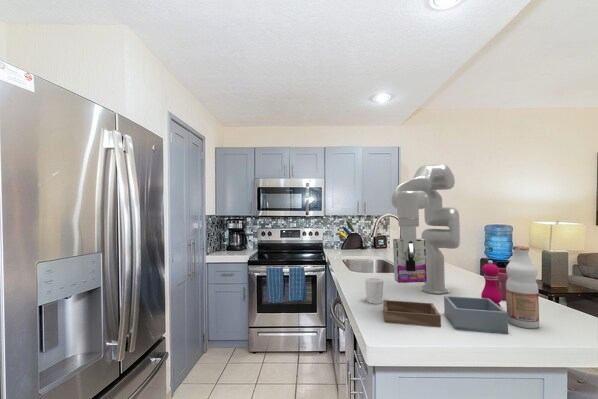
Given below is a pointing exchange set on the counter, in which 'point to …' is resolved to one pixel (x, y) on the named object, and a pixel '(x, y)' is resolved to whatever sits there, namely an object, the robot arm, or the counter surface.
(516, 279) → the fruit juice
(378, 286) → the white cup
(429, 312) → the wooden rectangular frame
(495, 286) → the pepper mill
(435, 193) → the robot arm
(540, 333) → the counter surface
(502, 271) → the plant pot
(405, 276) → the snack bar box
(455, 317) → the slate bin
